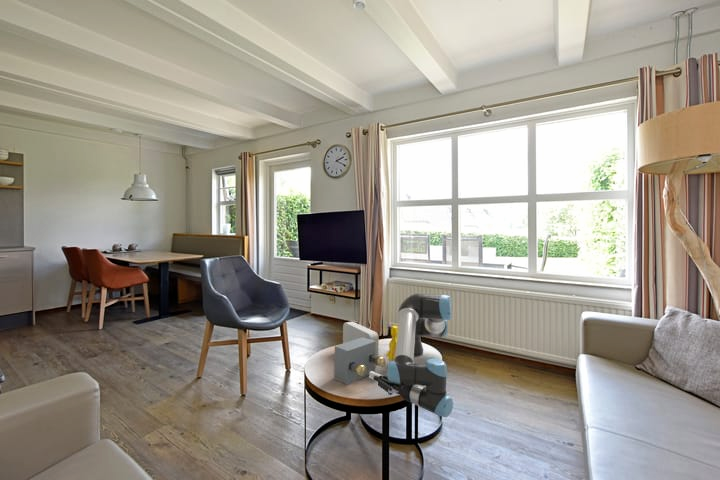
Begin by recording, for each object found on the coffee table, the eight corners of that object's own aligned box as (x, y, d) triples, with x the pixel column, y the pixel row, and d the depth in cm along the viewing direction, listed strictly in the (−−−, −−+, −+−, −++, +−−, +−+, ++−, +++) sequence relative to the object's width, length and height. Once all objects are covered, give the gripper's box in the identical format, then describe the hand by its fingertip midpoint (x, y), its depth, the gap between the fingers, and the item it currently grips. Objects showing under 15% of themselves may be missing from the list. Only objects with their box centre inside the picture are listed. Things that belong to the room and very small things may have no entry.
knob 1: (352, 368, 157) (352, 359, 157) (366, 374, 150) (366, 364, 150) (345, 370, 153) (346, 361, 153) (359, 377, 147) (359, 367, 147)
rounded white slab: (381, 365, 175) (382, 332, 174) (370, 368, 170) (370, 334, 170) (353, 349, 198) (353, 320, 198) (342, 351, 194) (343, 321, 194)
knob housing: (362, 366, 172) (362, 337, 172) (375, 372, 166) (375, 341, 166) (334, 378, 158) (334, 346, 158) (346, 384, 152) (347, 351, 151)
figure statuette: (414, 369, 171) (415, 327, 170) (405, 373, 165) (406, 330, 165) (388, 359, 183) (388, 320, 183) (379, 363, 178) (379, 323, 177)
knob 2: (371, 360, 167) (371, 351, 167) (385, 365, 160) (385, 356, 160) (365, 362, 164) (366, 354, 163) (379, 368, 157) (379, 359, 157)
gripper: (404, 408, 124) (360, 387, 141) (423, 396, 134) (379, 378, 150) (404, 389, 124) (360, 370, 141) (423, 378, 134) (379, 362, 150)
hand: (370, 374), depth 145 cm, fingers closed
